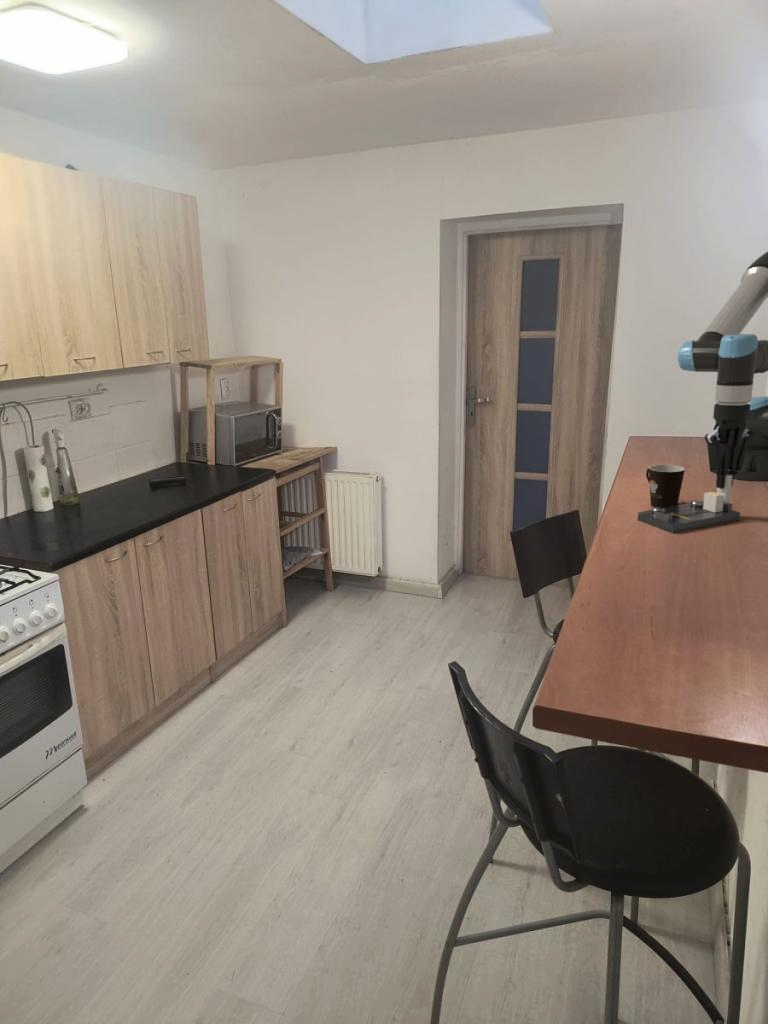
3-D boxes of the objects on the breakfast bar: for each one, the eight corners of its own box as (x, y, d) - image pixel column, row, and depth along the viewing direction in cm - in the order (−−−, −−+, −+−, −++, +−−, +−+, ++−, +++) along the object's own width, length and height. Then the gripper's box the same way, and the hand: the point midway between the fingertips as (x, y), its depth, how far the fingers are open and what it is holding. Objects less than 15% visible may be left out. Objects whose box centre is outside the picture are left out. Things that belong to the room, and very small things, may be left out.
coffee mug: (685, 510, 169) (688, 471, 166) (649, 510, 171) (651, 472, 168) (675, 498, 180) (678, 461, 177) (641, 497, 182) (644, 462, 179)
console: (701, 508, 170) (702, 494, 169) (739, 520, 159) (740, 505, 158) (637, 520, 163) (638, 506, 162) (672, 533, 153) (673, 518, 152)
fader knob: (710, 507, 163) (712, 491, 162) (722, 511, 160) (724, 494, 159) (703, 508, 162) (704, 492, 161) (714, 512, 159) (716, 495, 158)
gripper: (740, 399, 160) (730, 493, 167) (698, 403, 156) (689, 500, 163) (767, 402, 154) (756, 500, 160) (724, 407, 149) (714, 508, 156)
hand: (722, 500), depth 161 cm, fingers closed
